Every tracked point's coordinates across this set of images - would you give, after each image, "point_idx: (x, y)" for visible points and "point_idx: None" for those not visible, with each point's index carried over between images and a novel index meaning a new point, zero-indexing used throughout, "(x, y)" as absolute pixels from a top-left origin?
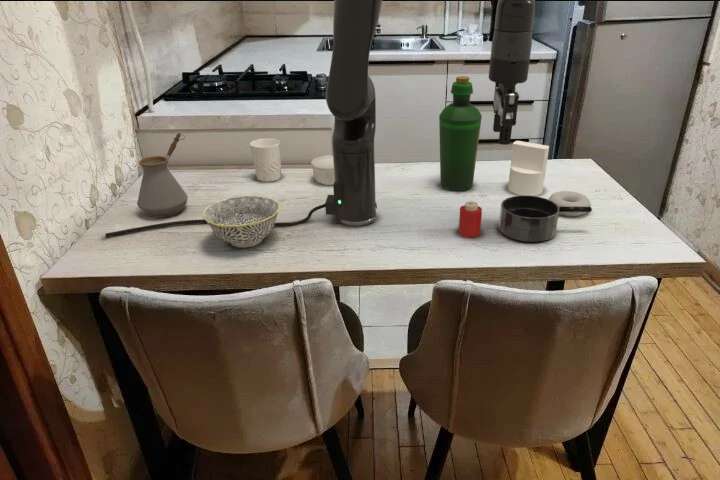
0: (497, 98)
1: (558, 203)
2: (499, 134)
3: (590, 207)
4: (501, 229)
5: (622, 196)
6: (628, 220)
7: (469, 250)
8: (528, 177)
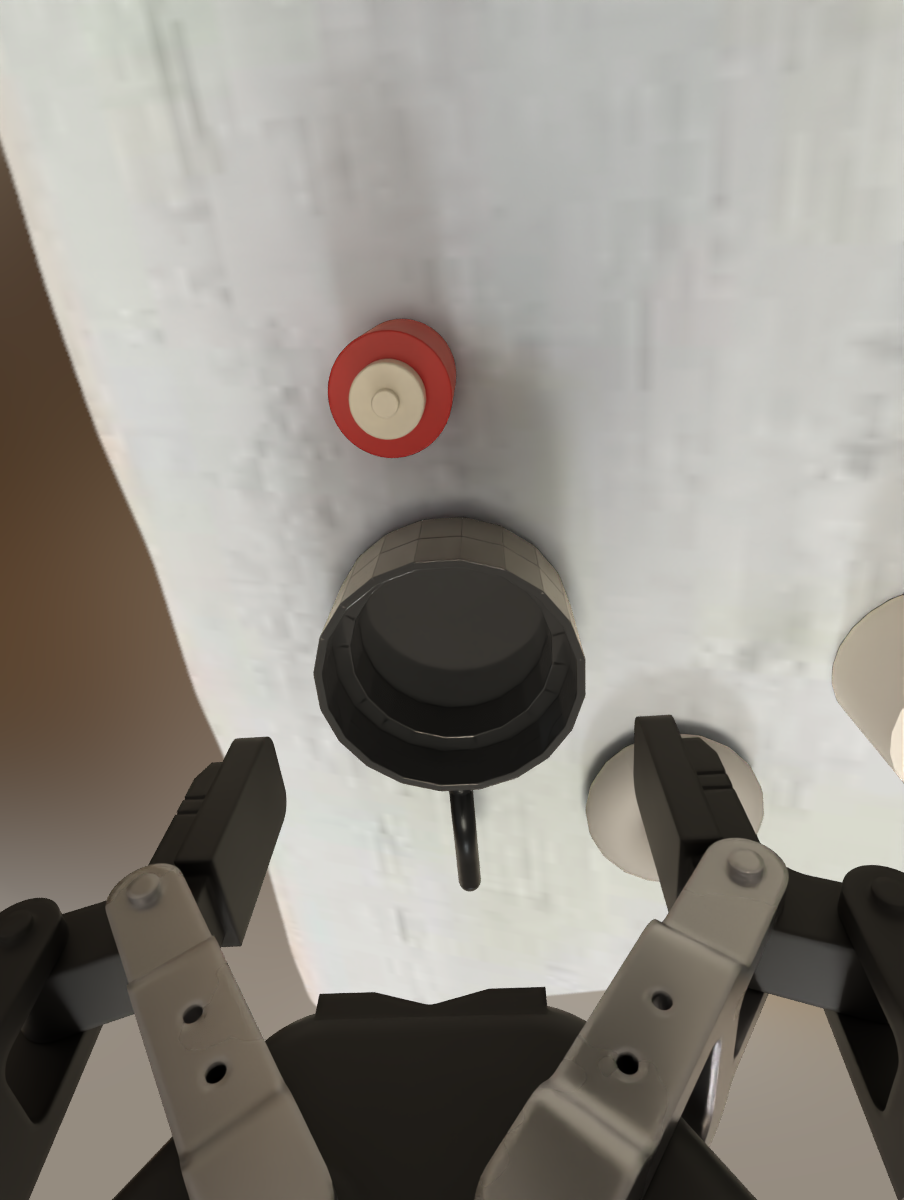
0: (214, 1152)
1: (627, 780)
2: (240, 786)
3: (467, 889)
4: (408, 528)
5: None
6: (572, 938)
7: (225, 374)
8: (883, 711)
